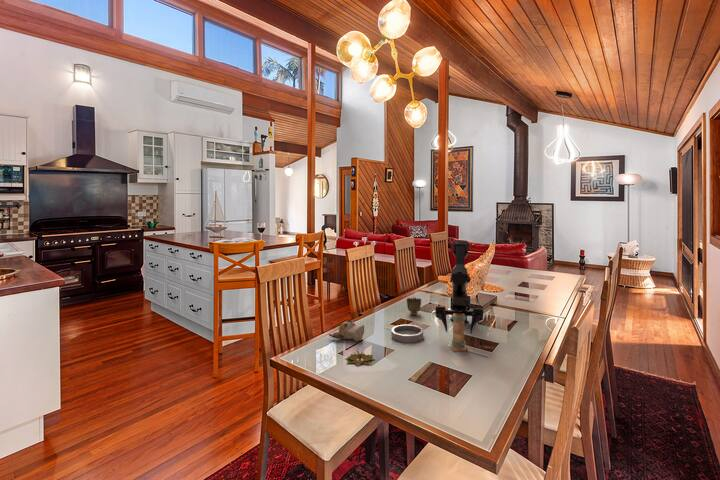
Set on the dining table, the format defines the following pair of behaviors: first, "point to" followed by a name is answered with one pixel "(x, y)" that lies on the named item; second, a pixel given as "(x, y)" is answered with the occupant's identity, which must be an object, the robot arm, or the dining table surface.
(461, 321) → the disc
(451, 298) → the robot arm
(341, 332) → the ceramic sculpture
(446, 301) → the dining table surface
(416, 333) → the round tray
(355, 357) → the lily flower
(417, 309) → the cup
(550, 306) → the dining table surface
